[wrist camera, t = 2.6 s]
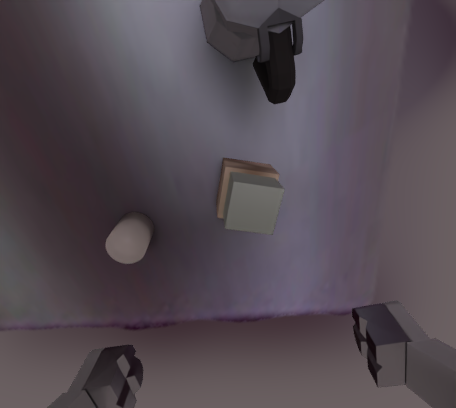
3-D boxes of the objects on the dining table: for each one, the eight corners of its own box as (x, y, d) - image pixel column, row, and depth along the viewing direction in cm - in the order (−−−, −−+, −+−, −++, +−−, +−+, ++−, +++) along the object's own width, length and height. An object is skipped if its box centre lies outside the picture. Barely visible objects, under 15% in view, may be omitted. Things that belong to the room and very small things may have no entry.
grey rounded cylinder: (118, 241, 37) (105, 261, 33) (119, 210, 36) (105, 226, 31) (152, 244, 38) (145, 265, 33) (155, 214, 36) (147, 231, 31)
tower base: (216, 202, 36) (217, 217, 32) (223, 157, 34) (225, 166, 29) (260, 207, 37) (268, 223, 32) (269, 164, 35) (279, 174, 30)
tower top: (223, 213, 31) (224, 228, 28) (230, 171, 30) (233, 181, 26) (265, 219, 32) (272, 235, 28) (275, 178, 30) (284, 189, 27)
